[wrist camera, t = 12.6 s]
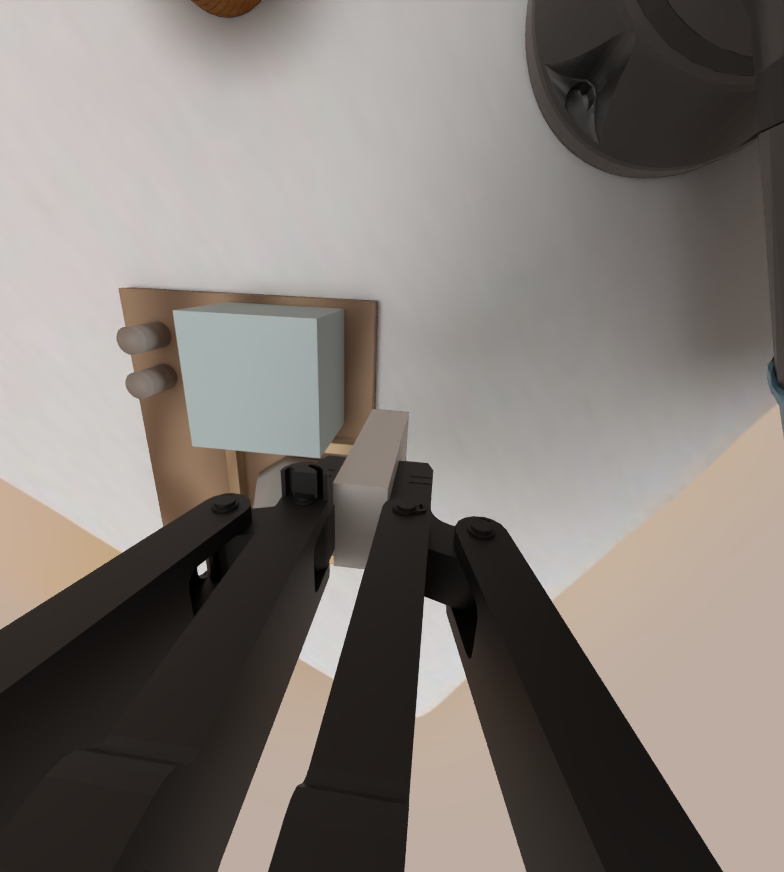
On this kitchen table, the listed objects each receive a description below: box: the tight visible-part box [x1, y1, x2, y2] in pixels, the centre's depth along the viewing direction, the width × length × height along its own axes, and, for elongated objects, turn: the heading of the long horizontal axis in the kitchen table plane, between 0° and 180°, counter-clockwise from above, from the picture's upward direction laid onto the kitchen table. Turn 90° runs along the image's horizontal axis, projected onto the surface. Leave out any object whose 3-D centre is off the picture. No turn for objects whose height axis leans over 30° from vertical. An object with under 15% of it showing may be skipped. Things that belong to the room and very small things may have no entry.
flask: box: [253, 456, 319, 508], centre depth 29 cm, size 7×7×10 cm
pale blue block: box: [173, 302, 344, 458], centre depth 27 cm, size 8×8×6 cm
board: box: [117, 288, 378, 564], centre depth 31 cm, size 18×20×4 cm
